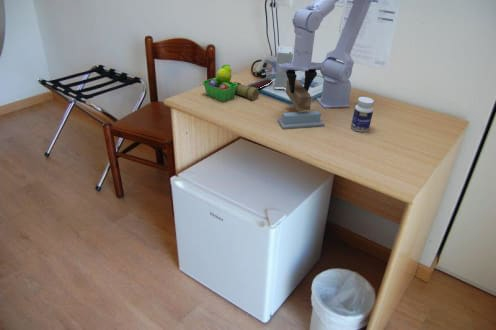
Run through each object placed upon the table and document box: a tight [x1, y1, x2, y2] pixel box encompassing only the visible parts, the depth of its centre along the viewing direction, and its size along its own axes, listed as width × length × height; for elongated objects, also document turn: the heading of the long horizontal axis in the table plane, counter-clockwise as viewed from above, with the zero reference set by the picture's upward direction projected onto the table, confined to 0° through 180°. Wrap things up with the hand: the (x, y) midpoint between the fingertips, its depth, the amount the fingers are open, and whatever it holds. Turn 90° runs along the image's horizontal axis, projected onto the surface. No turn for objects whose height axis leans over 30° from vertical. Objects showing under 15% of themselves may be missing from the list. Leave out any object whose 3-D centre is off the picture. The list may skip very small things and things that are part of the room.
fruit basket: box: [202, 63, 238, 102], centre depth 145 cm, size 11×9×11 cm
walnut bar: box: [285, 79, 312, 112], centre depth 133 cm, size 4×14×4 cm, turn 11°
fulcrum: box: [277, 110, 326, 130], centre depth 130 cm, size 14×6×4 cm, turn 102°
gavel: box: [233, 78, 273, 101], centre depth 154 cm, size 21×5×10 cm
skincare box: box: [273, 45, 294, 88], centre depth 154 cm, size 8×6×15 cm
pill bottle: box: [350, 96, 374, 133], centre depth 127 cm, size 6×6×10 cm
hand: (298, 92), depth 132 cm, fingers closed on walnut bar, 4 cm apart
